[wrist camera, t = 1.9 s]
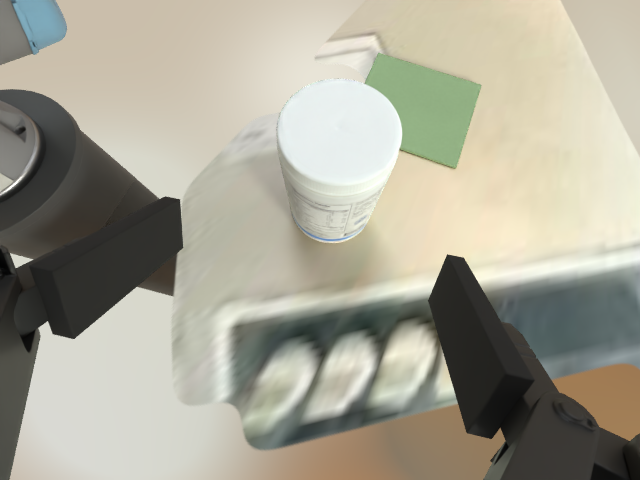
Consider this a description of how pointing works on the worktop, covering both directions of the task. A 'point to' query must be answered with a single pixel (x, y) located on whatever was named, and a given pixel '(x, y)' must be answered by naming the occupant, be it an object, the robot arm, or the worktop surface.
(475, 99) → the mat
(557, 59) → the worktop surface
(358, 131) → the supplement tub
